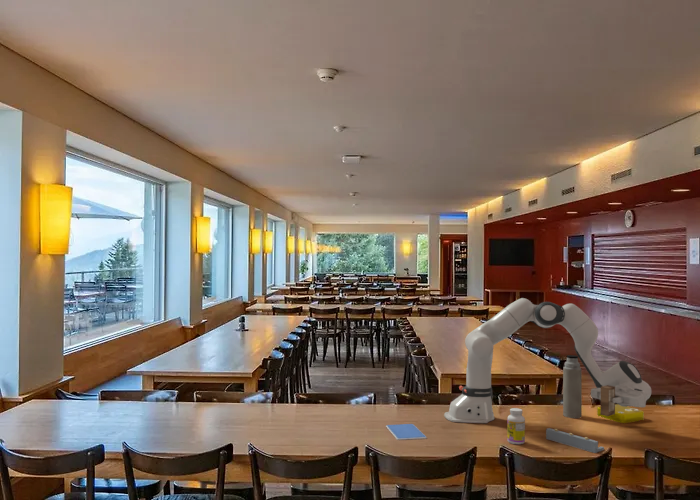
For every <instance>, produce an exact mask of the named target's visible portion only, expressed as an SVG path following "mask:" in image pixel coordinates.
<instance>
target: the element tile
mask: <svg viewBox="0 0 700 500" xmlns="http://www.w3.org/2000/svg"><path fill="white" fill-rule="evenodd" d="M596 408H597V409H596V415H598V416H597V417H599V416H601V417H600V418H603V417H604V419H607V420H610V421H612V420H613V422H616V423H620V424H628V423H635V421H636V422H640V421H639V420H643V421H644V420H645V419H644V418H645V417H644V416H645V415H644V414H645V412H644V411H643V410H641V409H638V408H635V407H634V408H633V407H631V406H626V407H624V406H620V405H619V404H617V403H615V414H613V415H610V416H605V415H601V406H597V407H596Z"/></svg>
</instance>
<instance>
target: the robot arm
mask: <svg viewBox="0 0 700 500" xmlns="http://www.w3.org/2000/svg"><path fill="white" fill-rule="evenodd" d="M528 322H531V323H533V324H535V326H537V327H538V328H539V327H540V328H541V329H549V328H552V327H554V326H556V325H561V327H563V328H564V329H566V331H567V332H568V333H569V334H570V336H571V337H572V339H573V342H574V351H575V353H576V356H578V358H579V360H580V361H581V363H582V365H583V367H584V368H585V370H586V371H587V372H588V374H589V376H590V378H591V379H592V381H593V383H594V386H595V388H594V387H593V388H591V389H590V397H591V398H593V399H596V400H597V399H598V400H599V401H601V387H602V386H606V385H610V386H615V398H613V397H612V398H610V402H612V403H615V404H619V405H620V406H624V407H626V406H627V407H634V408H646V404H647V401H648V400H649V399H650V397H651V395H652V388H651V386H650V384H649V383H648V382H646V381H645V380H643V379H642V375H641V373H640V371H639V370H638V368H637V366H635V364H633V363H631V362H629V361H625V360H620V361H619V362H617V363H615V364H614V365H612V366H611V367H609V368H608V369H606V370H605V371H602V370H601V368H600V366H599V365H598V363H597V361H596V360H595V358H594V356H593V354H592V350H593V347H594V345H595V343H596V341H597V339H598V337H599V329H598V327H597V325H596V324H595V322H594V321H593V320H592V318H590V317H589V316H588V314H586V313H585V312H584V311H583V309H581V308H580V307H579V306H577V305H576V304H574V303H566V304H564V305H562V306H561V305H559V304H556V303H554V302H551V301H542V302H540V303H539V304H534V303H533V302H531V300H529V299H527V298H524V297H521V298H518V299H516V300H515V301H513V302H511V303H509V304H508V305H506V307H504V308H503V309H501V310H500V311H499V312H498V313H497V314H495V315H494V316H492V317H491V318H489V319H488V320H487V321H485V322H483V323H482V324H481V325H479V326H478V327H476V328H474V329H473V330H472V331H470V332H469V333H468V334H467V335H466V337H465V339H464V345H465V347H466V349H467V364H466V368H465V369H466V376H465V377H466V380H465V381H466V382H465V383H466V384H465V386H462V385H459V387H458V388H459V390H460V391H462V392H461V394H460V395H458V397H456V398H455V399H453V400H452V401H451V402H450V404H449V410H448V411H446V412H444V414H443V417H444V418H445V419H446V420H448V421H449V422H452V423H453V422H454V423H468V424H469V423H472V424H473V423H474V424H488V423H489V422H492V421H494V420H495V414H494V411H493V403H492V399H493V387H492V365H493V357H494V346H496V344H498V343H500V342H502V341H504V340H506V339H508V338H509V337H511V335H513V334H515V332H517V331H518V330H519V329H521V328H522V327H523V326H525V324H527V323H528Z"/></svg>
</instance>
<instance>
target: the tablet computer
mask: <svg viewBox="0 0 700 500" xmlns="http://www.w3.org/2000/svg"><path fill="white" fill-rule="evenodd" d="M385 428H387V430H388V431H389V432H390V433H391V435H392V436H393V437H394V438H395V440H397V441H407V440H408V441H411V440H427V439H428V437H427V436H426V435H425V434H424V433H423V432H422V431H421V429H419V428H418V427H417V426H416V425H415V424H413V423H403V424H387V425H385Z"/></svg>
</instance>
